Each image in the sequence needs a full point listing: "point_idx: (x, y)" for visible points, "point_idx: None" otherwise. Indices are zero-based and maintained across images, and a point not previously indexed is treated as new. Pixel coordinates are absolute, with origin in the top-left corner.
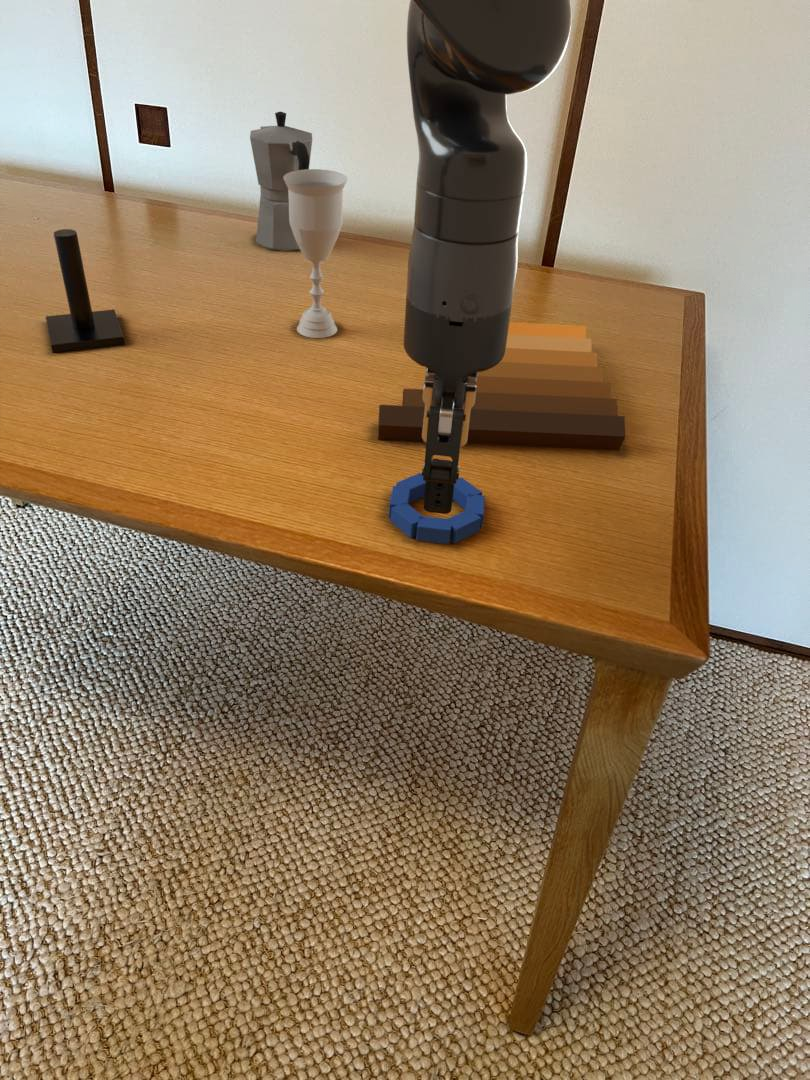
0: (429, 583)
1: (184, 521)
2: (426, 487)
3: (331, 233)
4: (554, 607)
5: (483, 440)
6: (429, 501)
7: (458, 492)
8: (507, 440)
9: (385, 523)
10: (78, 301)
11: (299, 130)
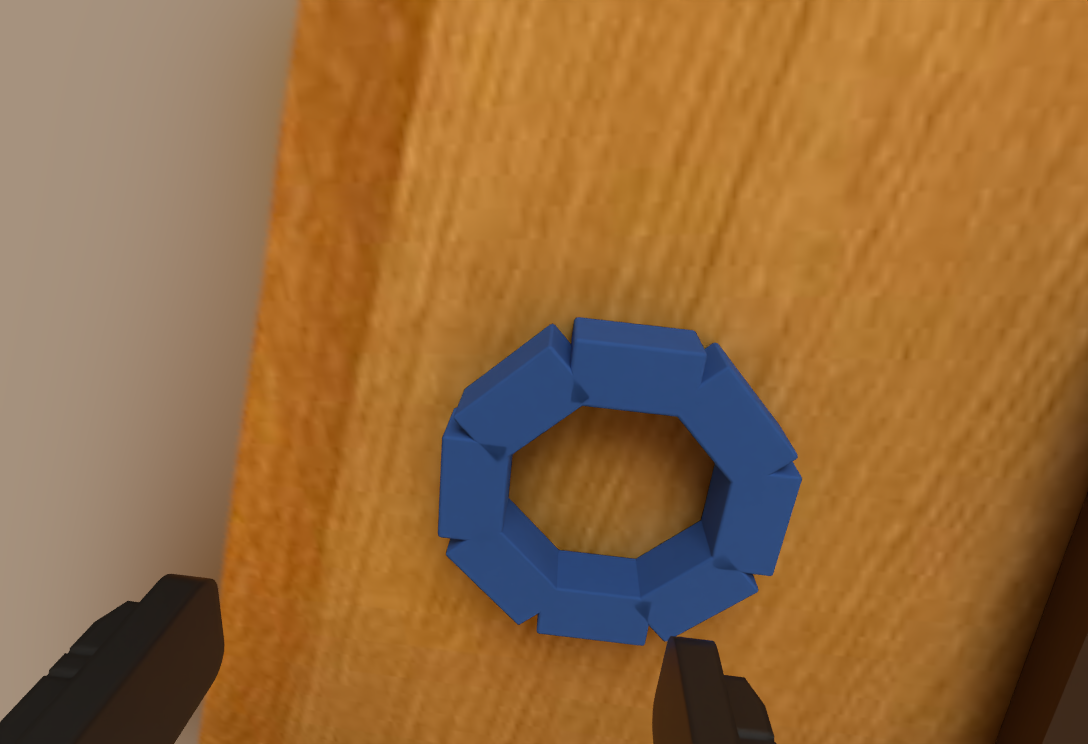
0: (255, 436)
1: None
2: (81, 677)
3: None
4: (244, 705)
5: (1040, 654)
6: (73, 647)
7: (676, 569)
8: (1016, 723)
9: (544, 304)
10: None
11: None
